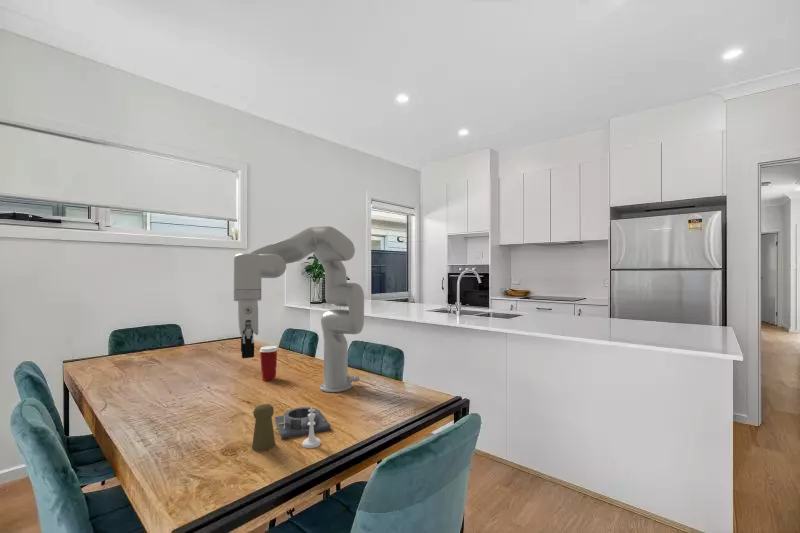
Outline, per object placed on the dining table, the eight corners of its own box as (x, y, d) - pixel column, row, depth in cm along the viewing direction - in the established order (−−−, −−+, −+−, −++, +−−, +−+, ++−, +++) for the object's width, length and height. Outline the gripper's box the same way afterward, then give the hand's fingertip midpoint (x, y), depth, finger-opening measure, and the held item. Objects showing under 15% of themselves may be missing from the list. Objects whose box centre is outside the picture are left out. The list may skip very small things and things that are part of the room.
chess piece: (304, 440, 107) (303, 404, 107) (321, 439, 108) (321, 404, 108) (300, 448, 102) (300, 411, 102) (319, 447, 103) (319, 410, 103)
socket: (318, 414, 127) (318, 402, 127) (330, 430, 114) (330, 417, 114) (274, 421, 121) (274, 409, 121) (281, 439, 108) (281, 425, 108)
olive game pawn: (267, 452, 100) (267, 410, 100) (247, 450, 102) (247, 408, 102) (279, 442, 106) (279, 402, 106) (259, 440, 108) (259, 401, 108)
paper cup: (281, 378, 168) (281, 346, 169) (267, 383, 162) (267, 349, 162) (270, 376, 173) (269, 344, 173) (255, 380, 166) (255, 348, 166)
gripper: (263, 296, 105) (263, 359, 105) (259, 294, 121) (259, 348, 121) (233, 297, 102) (233, 361, 102) (233, 294, 118) (233, 350, 118)
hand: (247, 354), depth 111 cm, fingers open, 9 cm apart
